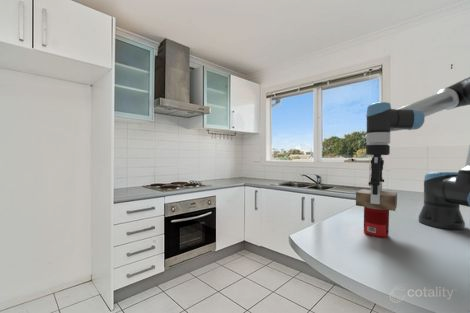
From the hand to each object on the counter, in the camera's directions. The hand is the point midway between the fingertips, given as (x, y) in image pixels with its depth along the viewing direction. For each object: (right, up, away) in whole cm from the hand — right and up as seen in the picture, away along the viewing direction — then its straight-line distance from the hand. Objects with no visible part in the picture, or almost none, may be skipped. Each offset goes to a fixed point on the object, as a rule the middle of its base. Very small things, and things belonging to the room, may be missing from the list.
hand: (376, 200), depth 85 cm
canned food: (0, -13, 0) cm, 13 cm away
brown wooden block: (0, -2, 0) cm, 2 cm away
